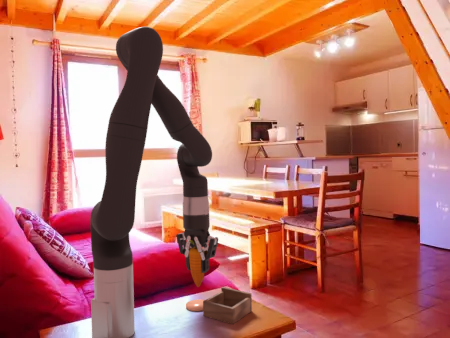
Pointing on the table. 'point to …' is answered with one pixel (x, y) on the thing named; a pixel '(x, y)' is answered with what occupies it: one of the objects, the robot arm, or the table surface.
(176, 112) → the robot arm
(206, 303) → the brown open box
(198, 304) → the peach dome
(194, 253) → the carrot
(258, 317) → the table surface
